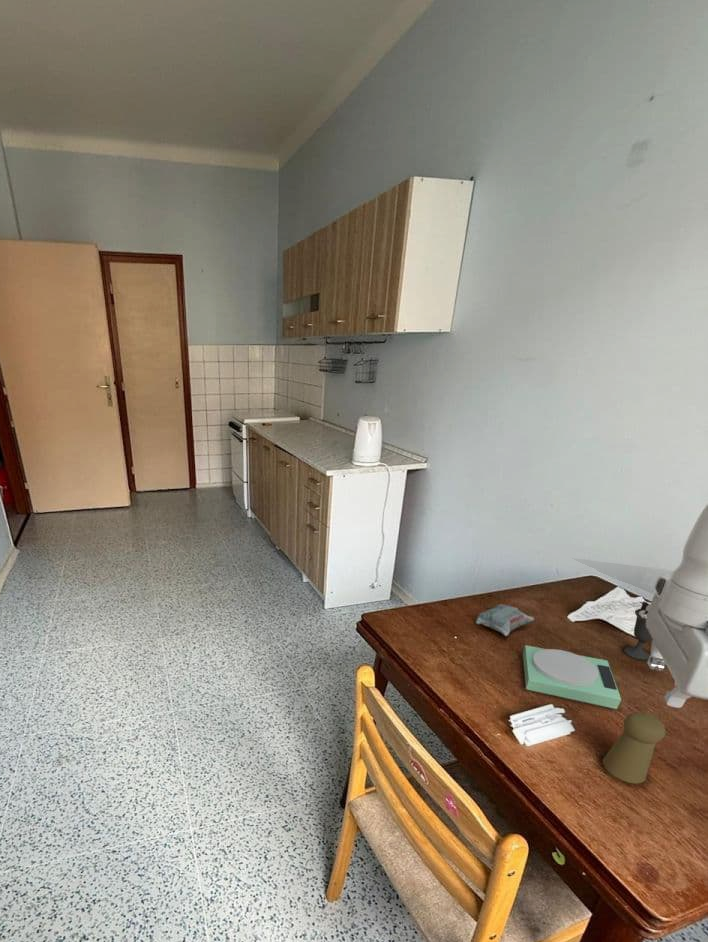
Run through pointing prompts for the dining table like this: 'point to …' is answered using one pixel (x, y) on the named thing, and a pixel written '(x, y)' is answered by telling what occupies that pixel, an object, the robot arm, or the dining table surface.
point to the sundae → (640, 634)
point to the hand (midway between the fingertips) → (662, 684)
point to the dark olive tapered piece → (634, 748)
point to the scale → (570, 676)
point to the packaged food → (503, 618)
